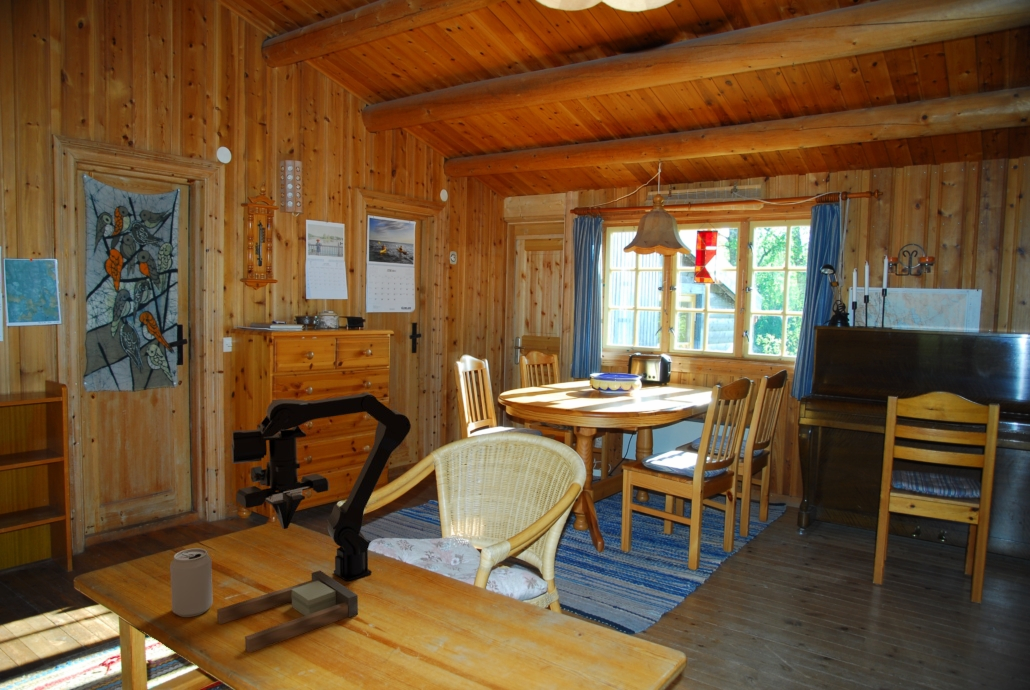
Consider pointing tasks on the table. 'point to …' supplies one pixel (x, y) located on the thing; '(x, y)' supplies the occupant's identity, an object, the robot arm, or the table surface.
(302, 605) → the block
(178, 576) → the can
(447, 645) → the table surface
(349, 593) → the bay
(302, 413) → the robot arm
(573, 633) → the table surface
